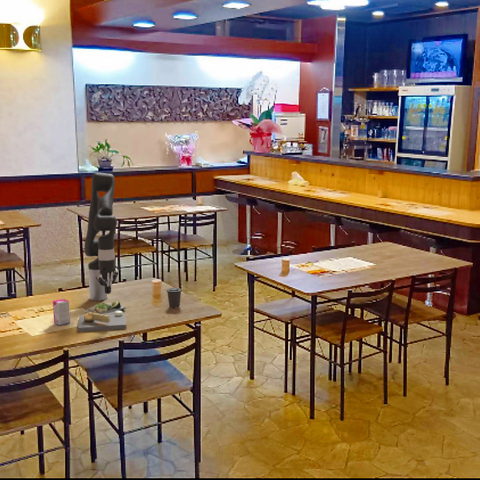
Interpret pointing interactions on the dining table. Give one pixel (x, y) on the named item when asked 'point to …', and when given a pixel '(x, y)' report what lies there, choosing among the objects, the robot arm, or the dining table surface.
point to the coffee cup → (174, 297)
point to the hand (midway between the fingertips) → (108, 293)
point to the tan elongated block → (96, 317)
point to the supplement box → (61, 312)
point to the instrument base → (103, 323)
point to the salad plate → (107, 308)
